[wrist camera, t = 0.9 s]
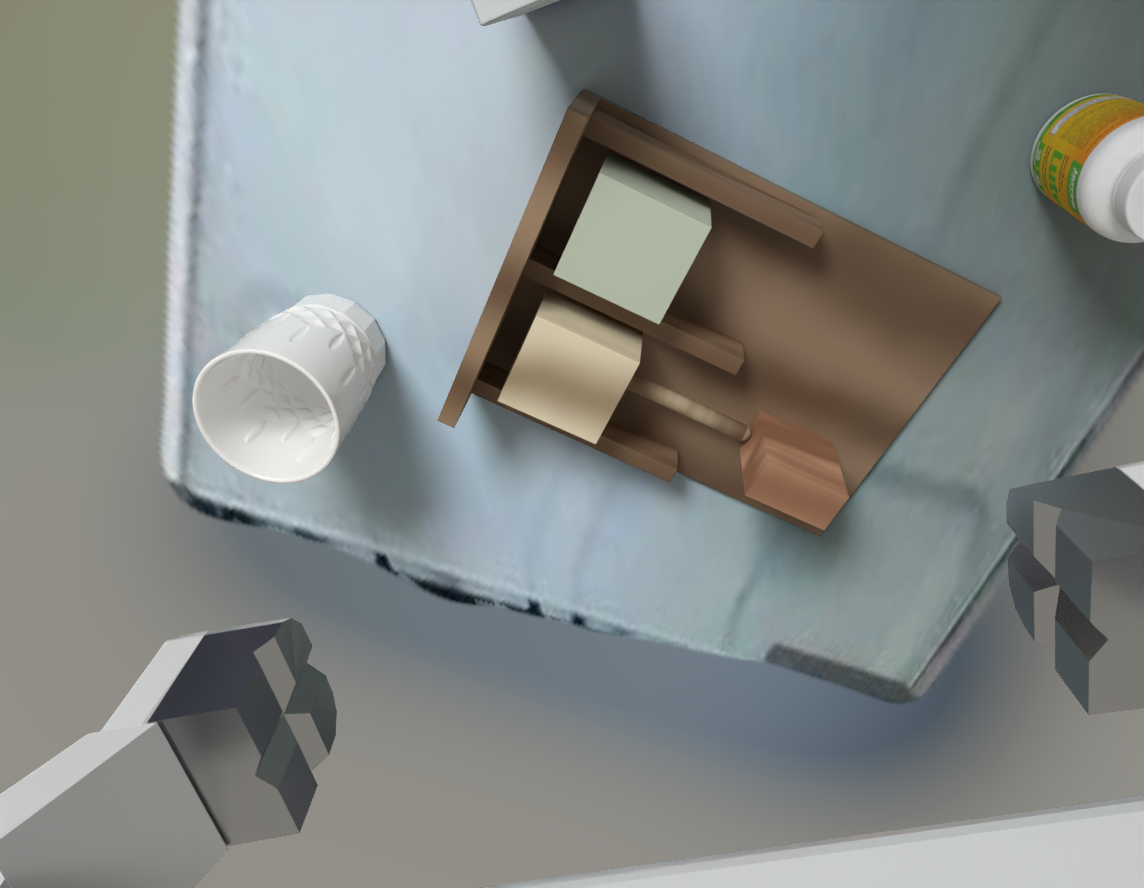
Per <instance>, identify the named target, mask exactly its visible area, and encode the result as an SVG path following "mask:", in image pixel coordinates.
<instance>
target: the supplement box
mask: <svg viewBox="0 0 1144 888" xmlns="http://www.w3.org/2000/svg"><path fill="white" fill-rule="evenodd" d="M557 1H559V0H471V2H472V5H473V7H474V10H475V13H476V15H477V18H478V20H479V23H480V25H482V26H487V25H490V24H493V23H496V22H500V21H503V20H506V19H509V18H513V17H517V16H520V15H523V14H526V13H529V12H531V11H534V10H536V9H539V8H541V7H544V6H547V5H549V4H552V3H554V2H557Z"/></svg>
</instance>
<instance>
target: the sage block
mask: <svg viewBox="0 0 1144 888" xmlns="http://www.w3.org/2000/svg"><path fill="white" fill-rule="evenodd" d="M711 228H712V226H711V209H710V201H708V200H706V199H704V198H702V197H700V196H698V195H696V194H694V193H692V192H690V191H687V190H685V189H683V188H681V187H679V186H677V185H675V184H673V183H671V182H669V181H667V180H665V179H663V178H661V177H659V176H657V175H655V174H653V173H651V172H649V171H647V170H645V169H643V168H641V167H639V166H637V165H635V164H633V163H630V162H628V161H626V160H624V159H622V158H620V157H618V156H616V155H614V154H612V153H610V152H608V154H607V156H606V158H605V160H604V163H603V165H602V167H601V169H600V172H599V174H598V176H597V178H596V180H595V183H594V185H593V187H592V189H591V191H590V194H589V196H588V198H587V200H586V202H585V205H584V207H583V209H582V211H581V213H580V216H579V218H578V220H577V222H576V225H575V227H574V229H573V231H572V233H571V236H570V238H569V240H568V242H567V244H566V247H565V249H564V251H563V254H562V256H561V258H560V260H559V263H558V265H557V267H556V270H555V272H554V274H553V275H555V276H557V277H559V278H561V279H564V280H566V281H568V282H570V283H572V284H574V285H576V286H578V287H581V288H583V289H585V290H587V291H589V292H591V293H593V294H595V295H597V296H600V297H602V298H604V299H606V300H608V301H610V302H612V303H614V304H617V305H619V306H621V307H623V308H625V309H627V310H629V311H631V312H634V313H636V314H638V315H640V316H642V317H644V318H646V319H648V320H651V321H653V322H655V323H657V324H660V322H661V320H662V318H663V316H664V315H665V313H666V311H667V309H668V307H669V305H670V304H671V302H672V300H673V298H674V296H675V294H676V292H677V291H678V289H679V287H680V285H681V283H682V281H683V280H684V278H685V276H686V274H687V272H688V270H689V268H690V267H691V265H692V263H693V261H694V259H695V257H696V255H697V254H698V252H699V250H700V248H701V246H702V244H703V243H704V241H705V239H706V237H707V235H708V233H709V231H710V230H711Z"/></svg>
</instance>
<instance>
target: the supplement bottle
mask: <svg viewBox="0 0 1144 888" xmlns="http://www.w3.org/2000/svg"><path fill="white" fill-rule="evenodd" d="M1030 167H1031V173H1032V176H1033V179H1034V182H1035V184H1036V185H1037V187H1038V188H1039V190H1040V191H1041V192H1042V193H1043V194H1044V195H1045V196H1046V197H1047V198H1048V199H1050V200H1051V201H1053V202H1054V203H1055V204H1057V205H1058V206H1059V207H1061V208H1062V209H1064V210H1065V211H1067V212H1068V213H1069V214H1071V215H1072V216H1074V217H1075V218H1076V219H1078V220H1079V221H1081V222H1082V223H1084V224H1085V225H1086V226H1088V227H1089V228H1091V229H1092V230H1093V231H1095V232H1096V233H1098V234H1100V235H1102V236H1104V237H1106V238H1108V239H1111V240H1114V241H1118V242H1123V243H1141V242H1144V104H1143V103H1141V102H1138V101H1135V100H1133V99H1130V98H1127V97H1124V96H1120V95H1116V94H1109V93H1099V94H1092V95H1088V96H1084V97H1082V98H1079V99H1077V100H1074V101H1072V102H1070V103H1068V104H1067V105H1065V106H1064V107H1062V108H1061V109H1059V110H1058V111H1057V112H1056V113H1055V114H1054V115H1053V116H1052V117H1051V118H1050V119H1049V120H1048V121H1047V122H1046V123H1045V124H1044V126H1043V127H1042V129H1041V130H1040V132H1039V133H1038V135H1037V137H1036V140H1035V142H1034V145H1033V148H1032V152H1031V159H1030Z"/></svg>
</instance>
